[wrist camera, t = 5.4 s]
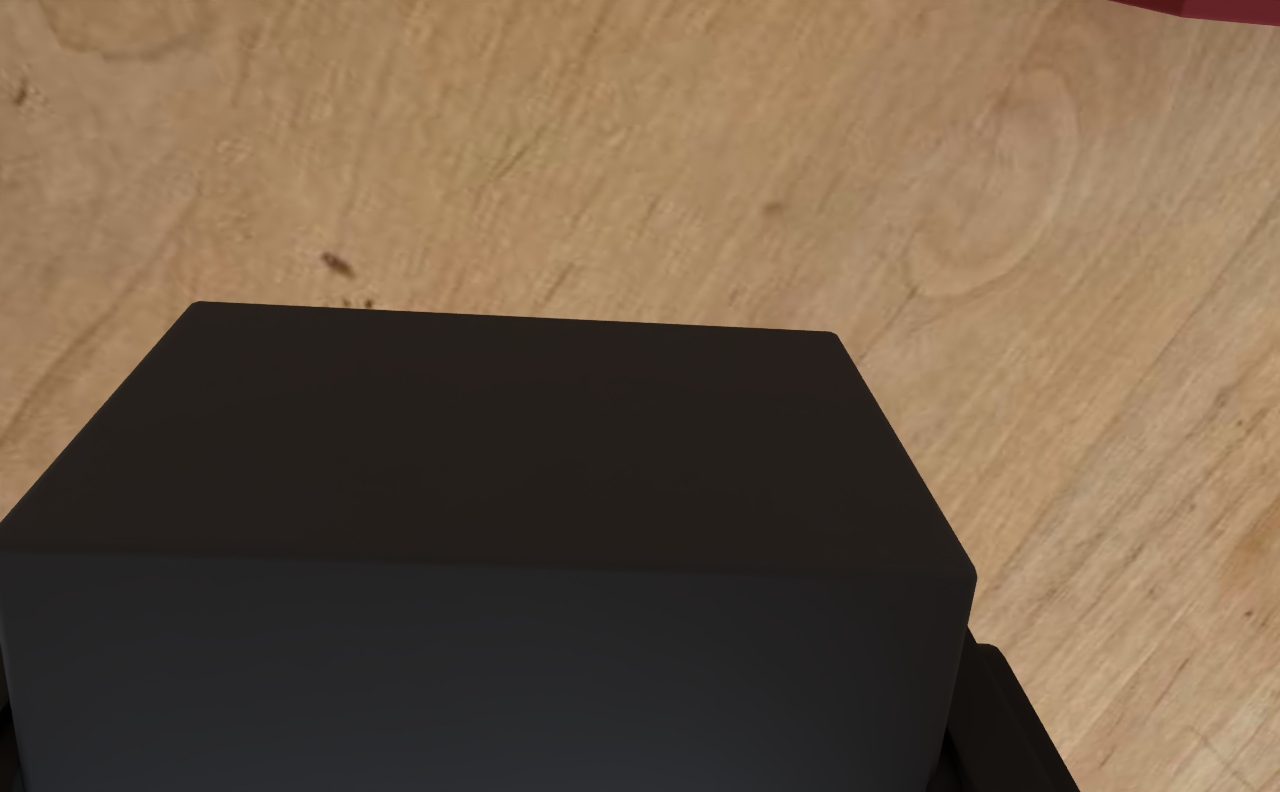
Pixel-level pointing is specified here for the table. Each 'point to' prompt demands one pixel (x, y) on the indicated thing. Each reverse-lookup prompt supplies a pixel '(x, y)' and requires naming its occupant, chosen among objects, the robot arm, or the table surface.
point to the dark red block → (1216, 9)
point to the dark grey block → (481, 565)
